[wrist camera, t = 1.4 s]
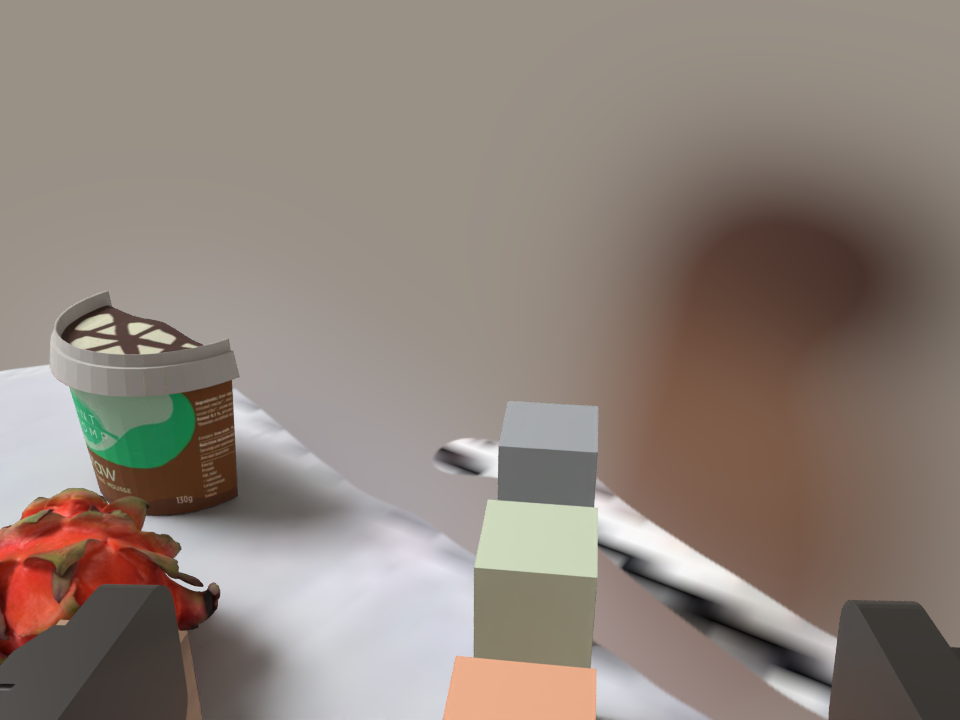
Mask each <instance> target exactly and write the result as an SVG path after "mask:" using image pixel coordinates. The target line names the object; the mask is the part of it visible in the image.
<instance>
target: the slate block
mask: <svg viewBox="0 0 960 720" xmlns="http://www.w3.org/2000/svg"><path fill="white" fill-rule="evenodd" d="M597 456H598V406H582V405H565V404H549V403H530V402H516V401H508V403H507V408H506V413H505V418H504V422H503V428H502V432H501V437H500V442H499V456H498V500H500V501H514V502H527V503H541V504H554V505H568V506H581V507H594V500H595V485H596V471H597Z"/></svg>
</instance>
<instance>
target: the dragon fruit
mask: <svg viewBox="0 0 960 720" xmlns="http://www.w3.org/2000/svg"><path fill="white" fill-rule="evenodd" d="M149 508H150V505H149V503H147V502H146V501H144V500H143V499H141V498H138V497H134V496H127V497H123V498H120V499H118V500H116V501H114V502H112V503H110V504H109V505H108V503H107V502H106V500H105V498H104V497H103V496H100V495H98V494H97V493H95V492H93V491H89V490H87V489H84V488H69V489H66V490H64V491H62V492H61V493H59V494H57V495H55V496H53V497H52V498H44V497H38V498H37V499H35V500H34V501H33V502H32V503H31V504H30V505H29V506H28V507H27V508H26V509H25V510H24V512H23V513H22V518H21V519H20V521H18V522H17V523H15V524H14V525H12V526H11V525H9V526H8V527H3V528H2V529H1V530H0V665H1V664H2V663H3V662H4V661H5V660H6V659H7V658H8V657H9V655H10V654H11V653H12V652H13V651H15V650H16V649H18V648H19V647H21V646H22V645H24V644H25V643H27V642H28V641H30V640H32V639H33V638H35V637H36V636H38V635H39V634H41V633H42V632H44V631H45V630H47V629H48V628H50V627H52V626H53V625H56V624H57V623H58V622H59V621H60V619H61V620H70V619H71V618H72V617H73V615H74V614H75V613H76V612H77V611H78V610H79V608H80V607H81V606H82V605H83V604H84V602H85V601H86V600H87V599H88V598H89V597H90V595H91V594H92V593H93V592H94V591H95V590H96V589H97V588H98V587H99V586H101V585H103V584H131V585H164V586H166V587H168V589H169V590H170V592H171V594H172V596H173V600H174V605H175V611H176V618H177V625H178V630H180V631H184V630H193V629H195V628H198V624H200V623H202V622H204V621H205V620H207V619H208V618H209V617H210V616H211V615H212V614H213V613H214V612H215V610H216V609H217V606H218V599H219V598H220V589H219V586H218V585H217V584H216V583H211V584H210V585H209V586H208V589H207V590H206V591H203V592H200V591H198V592H197V591H192V590H189V589H187V588H185V587H183V586H181V585H179V584H178V583H176V582H174V581H173V580H171V579H170V578H169V577H168V576H170V577H171V578H174V579H180V580H182V581H184V582H186V583H188V584H191V585H193V586H198V587H203V584H202V583H201V582H200V580H198V579H197V578H195V577H193V576H190V575H187V574H183V573H180V572H178V570H179V566H178V565H177V563H178V561H177V560H175V559H174V557H175V556H176V555H177V554H178V553H179V551H180V550H181V546H180V543H178V542H175V541H174V540H173V539H172V538H171V537H170V536H169V535H166V534H161V535H159V534H156V533H154V532H144V531H141V530H142V527H143V524H144V521H145V516H146V514H147V511H148V509H149ZM165 573H166V574H168V576H167V575H166V574H165ZM198 648H200V647H198Z"/></svg>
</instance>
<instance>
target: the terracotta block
mask: <svg viewBox="0 0 960 720" xmlns="http://www.w3.org/2000/svg"><path fill="white" fill-rule="evenodd" d="M443 720H596V669H591V668H580V667H569V666H558V665H548V664H537V663H526V662H515V661H504V660H494V659H483V658H472V657H461V656H456V657H455V662H454V667H453V672H452V677H451V682H450V687H449V692H448V696H447V701H446V706H445V711H444V716H443Z"/></svg>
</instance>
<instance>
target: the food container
mask: <svg viewBox="0 0 960 720" xmlns="http://www.w3.org/2000/svg"><path fill="white" fill-rule="evenodd" d="M50 369H51V372H52V374H53V375H54V376H55V377H56V379H57V380H59V381H60V382H62V383H63V384H65V385H67V386H69V387H70V391H71V394H72V397H73V401H74V404H75V407H76V411H77V414H78V417H79V421H80V424H81V427H82V431H83V434H84V438H85V441H86V444H87V448H88V451H89V454H90V458H91V461H92V464H93V468H94V471H95V475H96V478H97V481H98V485H99V488H100V491H101V493H102V495H103V496H104V498H105V499H106V501H107V502H109V503H112V502H114V501H116V500H118V499H120V498H123V497H127V496H134V497H138V498H141V499H143V500H144V501H146V502H147V503H149V505H150V508H149V509H148V511H147V514H146V515H153V516H161V515H176V514H184V513H189V512H194V511H199V510H203V509H206V508H210V507H213V506H216V505H218V504H221V503H224V502H226V501H228V500H230V499H232V498H234V497H237V496H238V490H237V470H236V451H235V431H234V412H233V392H232V379H235V378H238V377H239V373H238V369H237V364H236V360H235V356H234V352H233V351H231V350H230V343H229V339H228V338H227V339H224V340H221V341H218V342H215V343H211V344H207V345H202V344H200V343H198V342H195V341H194V340H191V339H190V338H188V337H187V336H185V335H184V334H182V333H180V332H179V331H177V330H176V329H174V328H172V327H171V326H169V325H167V324H165V323H163V322H160V321H156V320H151V319H144V318H139V317H135V316H132V315H129V314H127V313H125V312H122V311H120V310H118V309H115V308H113V307H112V305H111V300H110V297H109V292H108V291H105V292H101V293H98V294H95V295H93V296H90V297H88V298H85V299H83V300H81V301H79V302H77V303H76V304H74V305H72V306H71V307H69V308H68V309H66V310H65V311H64V312H63V313H62V314H61V315H60V316H59V317H58V319H57V320H56V322H55V326H54V331H53V333H52V335H51V341H50Z"/></svg>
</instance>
